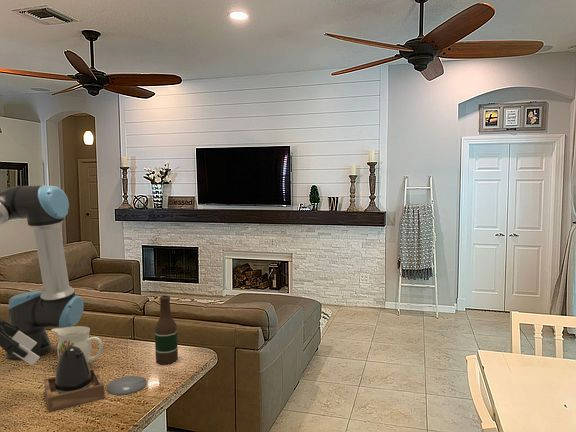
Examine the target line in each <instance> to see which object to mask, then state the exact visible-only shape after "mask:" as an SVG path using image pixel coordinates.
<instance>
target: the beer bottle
mask: <svg viewBox="0 0 576 432" xmlns="http://www.w3.org/2000/svg"><path fill="white" fill-rule="evenodd" d="M170 300H171V297H170V296H169V295H161V296H160V297H159V302H160V303H159V305H160V306H159V307H160V308H159V319H158V320H157V322H156V323H155V327H154V342H155V344H154V346H155V348H154V349H155V351H154V352H155V362H156V364H159V366H169V365H172V363H173V364H175V363H176V362H177V361H176V360H178V357H179V356H178V355H179V352H178V327H177V324H176V320H174V318H173V317H172V312H171V311H172V310H171V301H170ZM174 362H175V363H174ZM168 364H169V365H168Z"/></svg>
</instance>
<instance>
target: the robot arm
mask: <svg viewBox="0 0 576 432" xmlns="http://www.w3.org/2000/svg"><path fill="white" fill-rule="evenodd" d="M69 209H70V202H69V198H68V196H67V194H66V193H65V191H64V190H62V188H61V187H59V186H55V185H48V184H47V185H46V184H44V185H40V184H39V185H16V186H15V185H14V186H12V187H8V188H6V189H3V190H1V191H0V225H4V224H6V223H7V222H8V221H10V220H11V221H12V220H15V219H26V220H27V226H28V227H29V228H31V229H33V233H34V238H35V245H36V251H37V252H36V253H37V257H38V263H39V268H40V269H39V270H40V275H41V281H42V282H41V283H42V287H43V290H33V291H28V292H24V293H19V294H16V295H13V296H12V297H10V298H9V300H8V317H9V322H8V321H5V320H4V319H2V318H0V348H1V349H2V350H3V351H5V352H6V353H5V354H6V355H5V356H6V358H7V359H9V360H14V361H18V360H19V361H20V360H23V361H24V362H25V363H27V364H29V365H31V366H34V365H35V363H36V362H38V360H39V359H40V356H43V355H46V354H48V353H50V351H52V341H51V339H50V337H49V335H48V333H47V331H46V328H65V327H73V326H75V325H76V326H77V324H78V323H79V321H80V320H81V318H82V316H83V313H84V307H85V304H84V299H83V298H82V297H81V296H78V295H76V291H75V289H74V287H72V286H70V283H69V282H70V281H69V274H68V268H67V267H68V266H67V263H66V262H67V260H66V255H65V249H64V243H63V235H62V228H61V225H62V224H63V223H64V221H65V220H64V218H65V217H66V216H67V215H68V214H69Z"/></svg>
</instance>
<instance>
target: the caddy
mask: <svg viewBox="0 0 576 432" xmlns="http://www.w3.org/2000/svg"><path fill="white" fill-rule="evenodd" d="M90 373H91V382H90V383H93V386H89V387H88V388H84V389H80V390H75V391H71V392H67V393H62V394H58V393H57V394H54V395H52V392H54V391H57V389H56V388H55V376H52V377H48V378H44V381H43V382H44V393H45V399H46V404H47V408H48V412H53V411H57V410H62V409H65V408H70V407H74V406H77V405H81V404H86V403H89V402H93V401H97V400H102V399H105V384H104V382H103V381H102V379H101V378H102V377H101V375H100V374H99V373H98V370H97V368H95V367H94V368H90Z"/></svg>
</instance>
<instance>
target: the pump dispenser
mask: <svg viewBox="0 0 576 432" xmlns="http://www.w3.org/2000/svg"><path fill="white" fill-rule="evenodd" d="M90 369H91V368H90V365H89V362H87V359H86V357H85V355H84V353H83V352H82V350H81V349H80V348H78V347H76V346H70V347H68V348H66V349H65V350H64V351H63V353H62V355H61V357H60V359H59V358H58V363H57V367H56V372H55V376H54V377H55V388H56V389H57V390H56V392H57V395H58V394H62V393H67V392H71V391H75V390H80V389H84V388H88V387H91V383H92V382H91V373H90Z"/></svg>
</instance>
